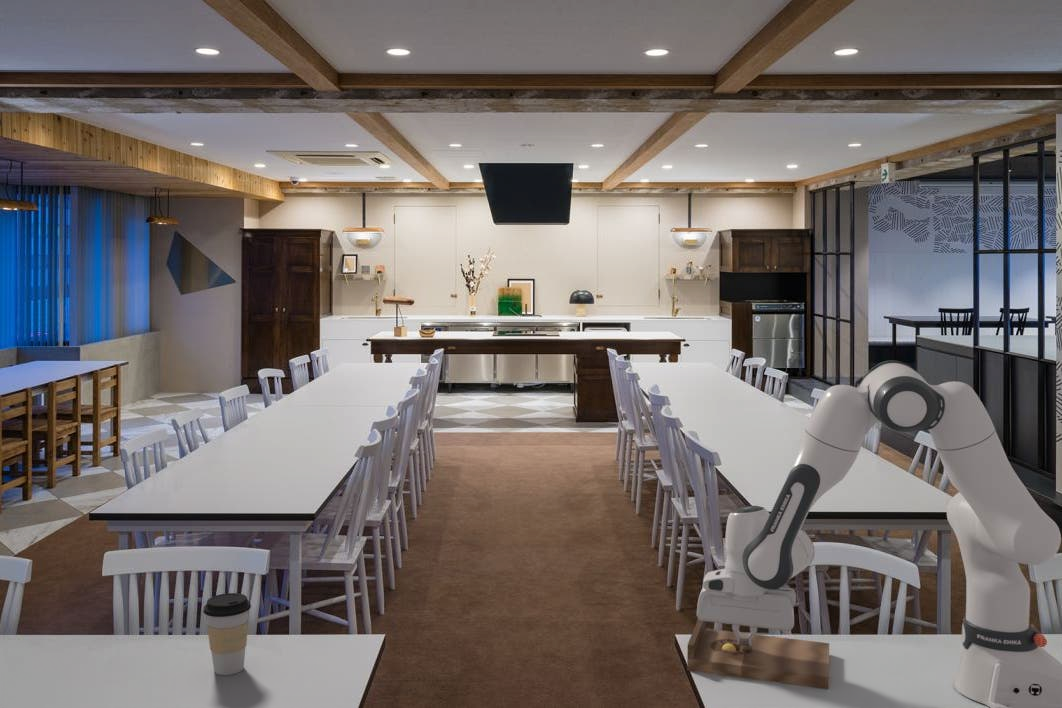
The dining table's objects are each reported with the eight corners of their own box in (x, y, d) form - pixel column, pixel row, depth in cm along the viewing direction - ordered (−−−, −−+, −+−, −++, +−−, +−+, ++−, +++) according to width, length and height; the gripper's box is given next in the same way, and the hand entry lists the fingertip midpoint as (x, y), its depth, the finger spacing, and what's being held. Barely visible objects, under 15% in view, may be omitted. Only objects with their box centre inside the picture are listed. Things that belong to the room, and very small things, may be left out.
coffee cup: (233, 681, 183) (231, 609, 182) (194, 675, 186) (192, 604, 185) (261, 663, 192) (260, 594, 191) (224, 657, 195) (222, 589, 194)
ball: (725, 638, 196) (720, 651, 197) (723, 644, 193) (718, 657, 194) (739, 645, 195) (734, 658, 196) (737, 650, 192) (732, 663, 193)
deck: (829, 654, 197) (829, 629, 196) (828, 689, 180) (829, 662, 179) (699, 638, 206) (699, 615, 205) (687, 670, 189) (687, 644, 188)
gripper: (797, 581, 192) (795, 645, 193) (700, 572, 199) (699, 633, 200) (795, 591, 186) (794, 656, 187) (696, 580, 193) (694, 644, 194)
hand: (744, 644), depth 194 cm, fingers closed
